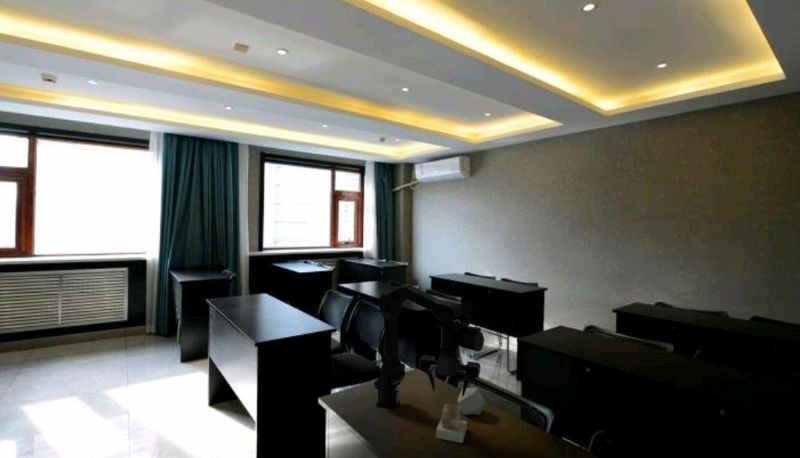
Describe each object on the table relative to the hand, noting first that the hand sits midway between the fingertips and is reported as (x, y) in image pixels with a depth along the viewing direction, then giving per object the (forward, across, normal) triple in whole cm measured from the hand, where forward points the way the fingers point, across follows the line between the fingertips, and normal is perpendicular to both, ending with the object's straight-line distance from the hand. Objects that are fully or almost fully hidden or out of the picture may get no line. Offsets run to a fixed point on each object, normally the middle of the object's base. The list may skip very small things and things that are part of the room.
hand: (448, 393), depth 118 cm
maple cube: (+9, +1, -1) cm, 9 cm away
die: (+12, +5, +14) cm, 19 cm away
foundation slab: (+12, +2, -2) cm, 12 cm away
